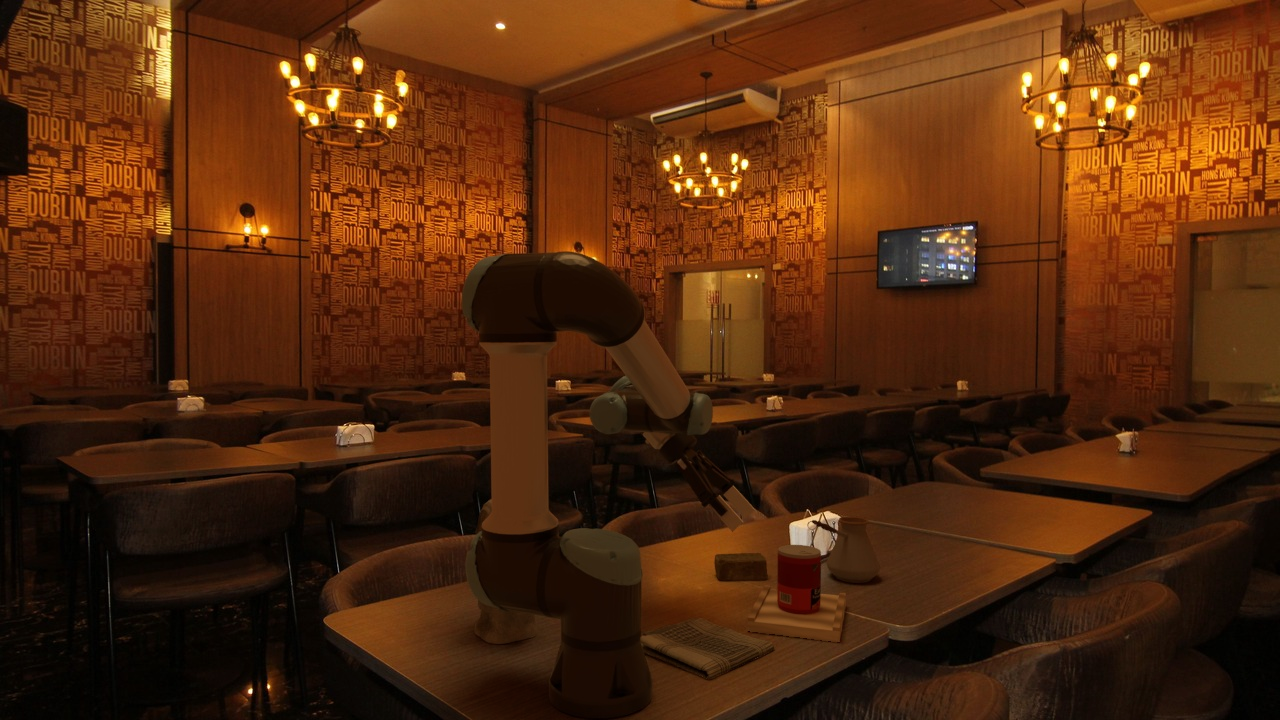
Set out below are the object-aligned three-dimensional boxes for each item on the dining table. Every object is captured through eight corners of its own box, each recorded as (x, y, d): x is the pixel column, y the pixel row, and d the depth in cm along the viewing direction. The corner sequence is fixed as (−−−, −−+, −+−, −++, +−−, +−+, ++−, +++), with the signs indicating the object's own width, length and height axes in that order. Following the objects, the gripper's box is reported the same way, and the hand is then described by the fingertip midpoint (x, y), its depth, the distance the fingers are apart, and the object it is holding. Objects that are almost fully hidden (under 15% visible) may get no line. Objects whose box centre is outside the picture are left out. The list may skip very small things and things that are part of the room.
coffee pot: (845, 567, 181) (846, 503, 181) (890, 578, 173) (891, 511, 172) (788, 585, 167) (788, 515, 167) (833, 599, 159) (834, 525, 158)
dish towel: (778, 653, 132) (778, 634, 132) (708, 685, 119) (708, 664, 119) (695, 624, 145) (695, 607, 145) (625, 650, 133) (625, 631, 133)
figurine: (511, 615, 148) (511, 483, 147) (547, 638, 136) (548, 495, 136) (462, 626, 142) (462, 489, 142) (496, 651, 130) (497, 501, 130)
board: (839, 642, 135) (839, 627, 135) (747, 631, 140) (747, 617, 140) (845, 606, 154) (845, 593, 154) (764, 597, 159) (764, 585, 159)
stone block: (712, 574, 175) (713, 552, 175) (763, 573, 177) (763, 551, 177) (718, 582, 170) (718, 559, 170) (770, 581, 171) (770, 558, 171)
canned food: (821, 616, 142) (821, 556, 142) (776, 613, 144) (777, 553, 144) (819, 602, 150) (820, 545, 150) (777, 599, 152) (778, 543, 151)
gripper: (674, 446, 168) (742, 521, 163) (638, 457, 144) (717, 546, 140) (698, 422, 167) (768, 498, 162) (667, 430, 143) (747, 518, 138)
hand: (744, 520), depth 151 cm, fingers open, 13 cm apart
